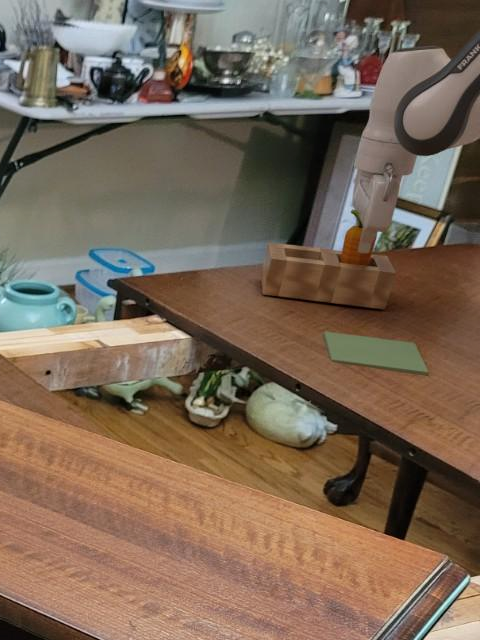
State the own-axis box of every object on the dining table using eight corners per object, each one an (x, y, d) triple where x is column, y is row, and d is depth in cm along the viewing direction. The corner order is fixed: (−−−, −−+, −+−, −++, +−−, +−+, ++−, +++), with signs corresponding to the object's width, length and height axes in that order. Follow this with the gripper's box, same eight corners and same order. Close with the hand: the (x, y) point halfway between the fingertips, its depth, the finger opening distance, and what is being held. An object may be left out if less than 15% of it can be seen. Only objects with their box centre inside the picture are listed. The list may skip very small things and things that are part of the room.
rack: (376, 291, 189) (387, 255, 186) (384, 309, 180) (396, 272, 177) (260, 277, 193) (268, 242, 189) (262, 294, 184) (271, 258, 180)
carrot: (350, 302, 183) (373, 208, 175) (324, 294, 186) (346, 202, 178) (368, 297, 185) (391, 204, 177) (342, 290, 188) (364, 199, 180)
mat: (413, 348, 164) (415, 342, 164) (427, 377, 153) (429, 372, 153) (322, 336, 166) (324, 331, 166) (330, 364, 156) (331, 359, 155)
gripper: (416, 173, 165) (388, 265, 172) (397, 150, 181) (373, 235, 189) (372, 168, 166) (346, 260, 173) (357, 146, 183) (335, 231, 190)
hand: (360, 247), depth 181 cm, fingers closed on carrot, 5 cm apart
